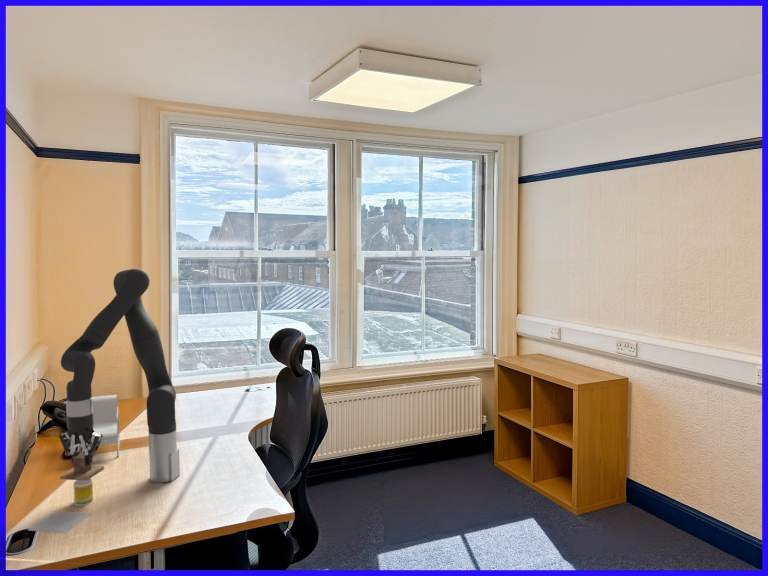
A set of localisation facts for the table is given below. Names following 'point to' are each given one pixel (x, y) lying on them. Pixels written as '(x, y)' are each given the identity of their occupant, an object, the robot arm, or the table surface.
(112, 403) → the chair
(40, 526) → the mat
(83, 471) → the lid
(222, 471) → the table surface
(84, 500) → the supplement bottle
